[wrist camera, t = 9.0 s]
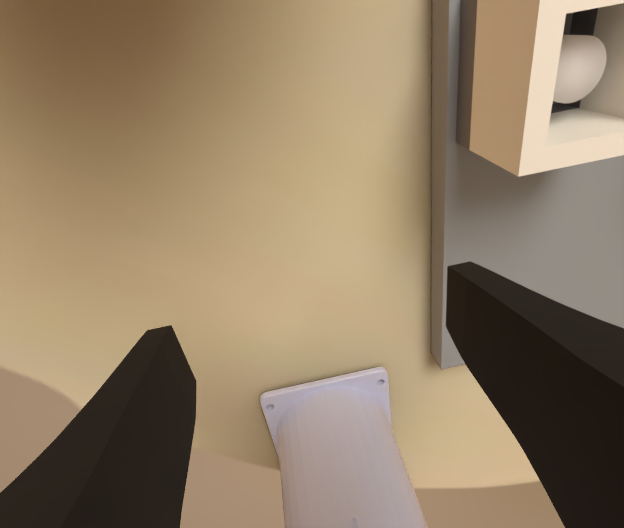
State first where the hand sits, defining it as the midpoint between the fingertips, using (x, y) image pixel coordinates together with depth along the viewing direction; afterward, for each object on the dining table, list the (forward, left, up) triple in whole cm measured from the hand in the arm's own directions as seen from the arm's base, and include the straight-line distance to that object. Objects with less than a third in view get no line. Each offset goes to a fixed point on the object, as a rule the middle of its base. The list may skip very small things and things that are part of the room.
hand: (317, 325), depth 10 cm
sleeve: (+4, -10, -8) cm, 13 cm away
